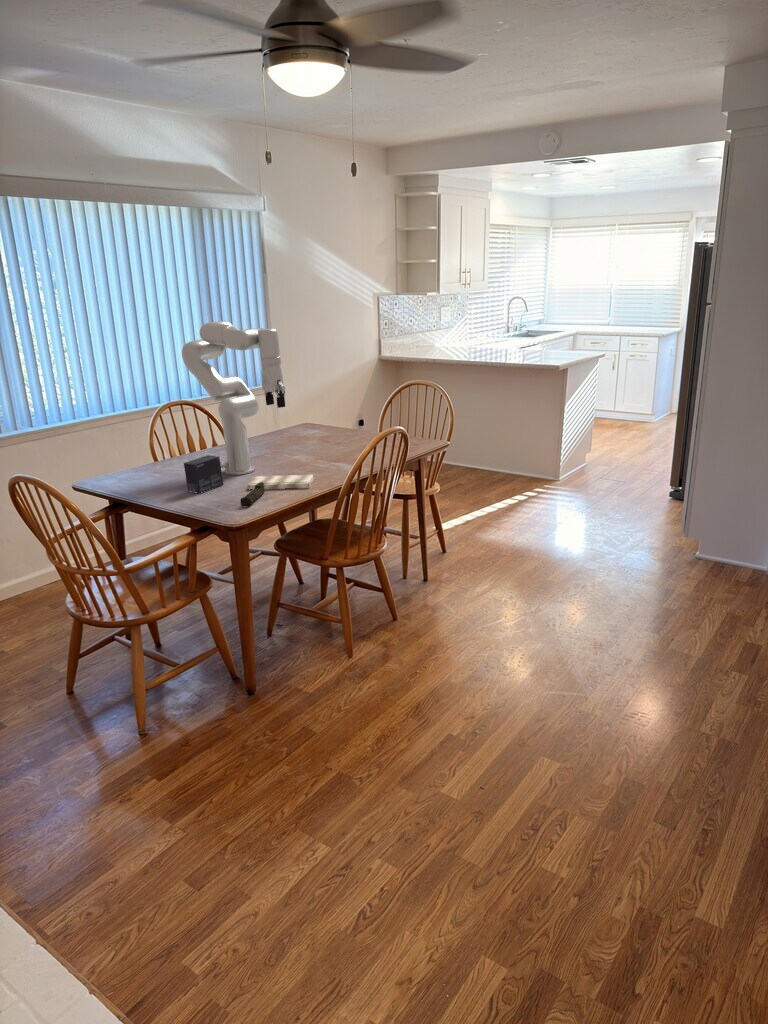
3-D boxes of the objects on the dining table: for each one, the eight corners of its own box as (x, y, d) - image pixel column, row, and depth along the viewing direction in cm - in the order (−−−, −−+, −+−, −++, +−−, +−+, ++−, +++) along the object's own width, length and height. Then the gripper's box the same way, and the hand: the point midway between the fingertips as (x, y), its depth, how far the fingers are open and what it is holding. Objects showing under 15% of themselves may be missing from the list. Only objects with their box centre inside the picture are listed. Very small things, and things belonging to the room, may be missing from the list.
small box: (212, 483, 288) (208, 454, 284) (224, 485, 284) (220, 456, 280) (187, 492, 278) (183, 462, 274) (199, 494, 274) (195, 464, 270)
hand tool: (250, 508, 255) (249, 495, 254) (240, 507, 256) (239, 495, 255) (271, 492, 273) (269, 480, 271) (261, 492, 274) (260, 480, 272)
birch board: (248, 489, 276) (247, 484, 275) (254, 481, 288) (254, 476, 287) (309, 488, 275) (308, 482, 274) (313, 479, 286) (313, 474, 286)
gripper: (252, 361, 278) (257, 405, 283) (272, 364, 264) (277, 409, 269) (269, 359, 282) (274, 402, 287) (289, 361, 268) (294, 406, 273)
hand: (275, 405), depth 278 cm, fingers open, 9 cm apart
